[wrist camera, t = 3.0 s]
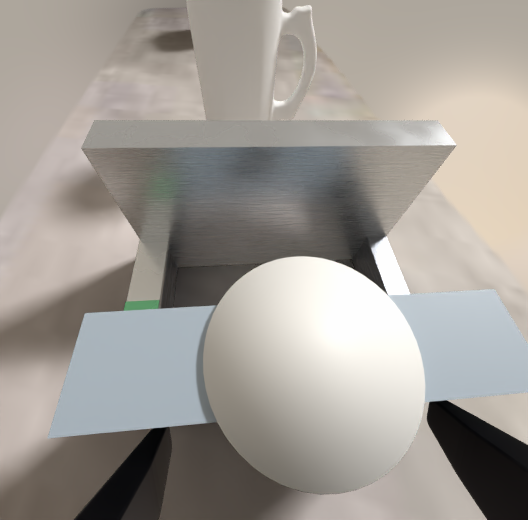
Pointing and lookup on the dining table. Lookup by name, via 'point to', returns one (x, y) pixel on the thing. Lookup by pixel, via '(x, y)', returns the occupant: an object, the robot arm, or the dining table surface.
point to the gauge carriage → (295, 369)
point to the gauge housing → (262, 192)
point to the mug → (247, 56)
